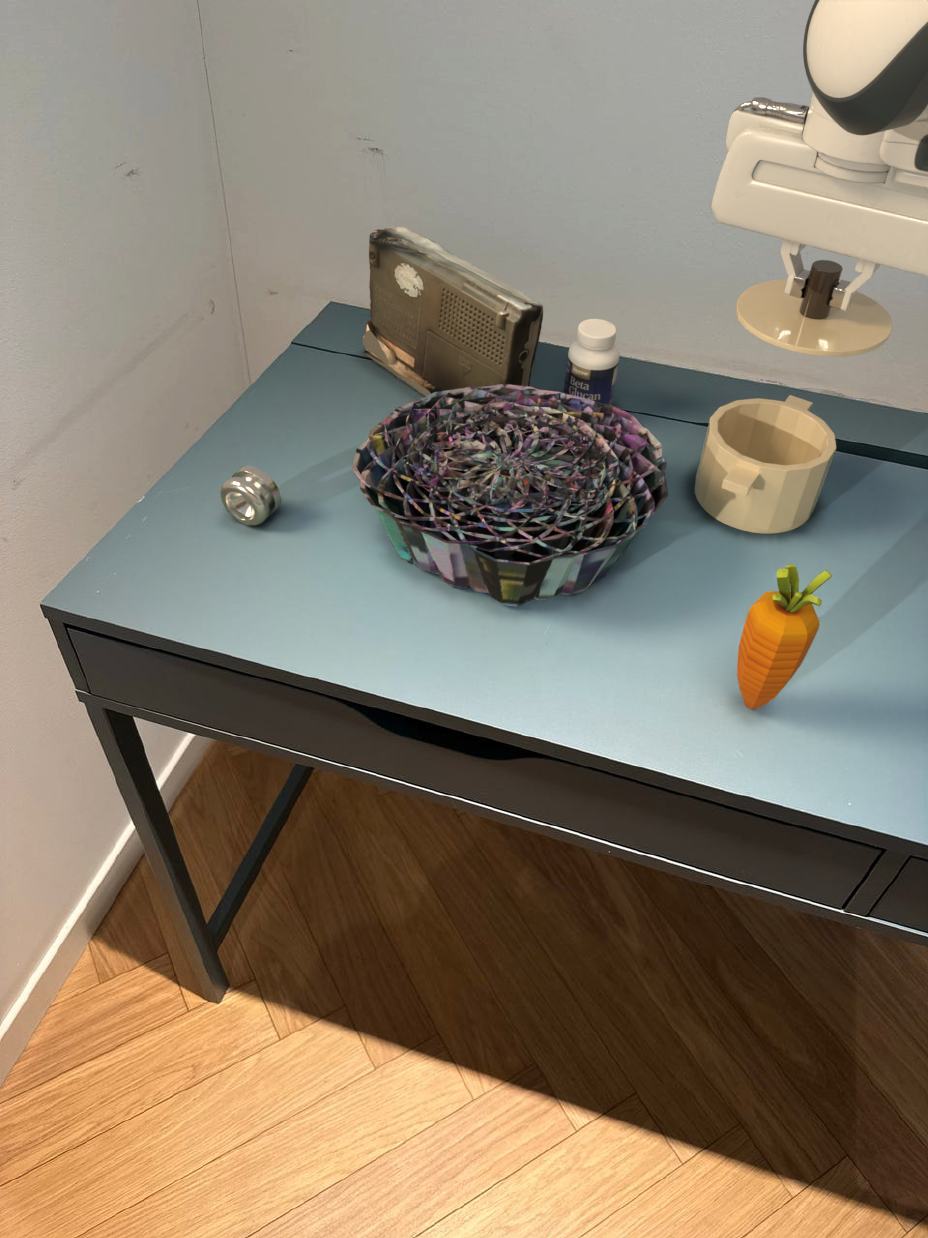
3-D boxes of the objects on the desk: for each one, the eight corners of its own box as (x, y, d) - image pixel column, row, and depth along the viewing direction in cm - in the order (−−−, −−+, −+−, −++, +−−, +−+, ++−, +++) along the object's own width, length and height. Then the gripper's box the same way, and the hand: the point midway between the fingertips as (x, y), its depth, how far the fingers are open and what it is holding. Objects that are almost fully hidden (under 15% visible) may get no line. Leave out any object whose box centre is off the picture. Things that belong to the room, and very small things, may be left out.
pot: (837, 474, 98) (861, 411, 93) (778, 565, 88) (800, 501, 83) (731, 436, 103) (747, 374, 97) (663, 519, 93) (677, 454, 87)
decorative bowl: (616, 676, 81) (644, 592, 73) (311, 586, 84) (308, 498, 77) (662, 495, 98) (688, 414, 91) (407, 427, 102) (413, 344, 94)
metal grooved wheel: (283, 517, 91) (277, 474, 88) (266, 535, 89) (259, 492, 86) (240, 501, 93) (232, 459, 89) (221, 519, 91) (213, 476, 87)
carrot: (785, 693, 77) (842, 553, 67) (778, 739, 74) (837, 600, 63) (723, 676, 78) (770, 537, 68) (714, 722, 75) (761, 582, 64)
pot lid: (907, 316, 82) (928, 258, 78) (861, 380, 74) (882, 319, 71) (766, 277, 87) (780, 220, 83) (710, 333, 79) (722, 273, 76)
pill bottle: (559, 419, 104) (568, 337, 97) (564, 393, 108) (573, 312, 101) (609, 425, 104) (622, 343, 97) (612, 398, 107) (624, 317, 100)
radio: (546, 420, 104) (559, 290, 93) (484, 448, 100) (490, 315, 89) (419, 333, 116) (417, 209, 106) (359, 354, 113) (351, 228, 102)
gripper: (718, 102, 71) (685, 280, 81) (1007, 162, 63) (932, 352, 73) (750, 81, 75) (715, 254, 85) (1027, 135, 67) (953, 319, 77)
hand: (817, 300), depth 79 cm, fingers closed on pot lid, 2 cm apart
